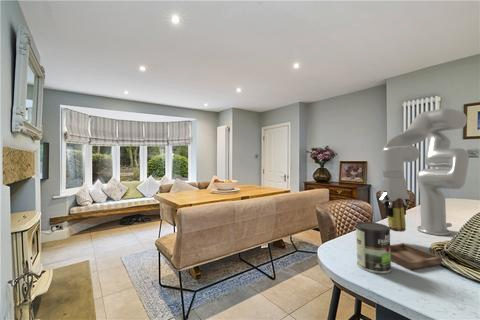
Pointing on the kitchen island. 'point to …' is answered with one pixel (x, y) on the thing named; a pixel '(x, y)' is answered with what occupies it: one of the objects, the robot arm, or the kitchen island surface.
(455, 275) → the kitchen island surface
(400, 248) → the tray
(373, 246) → the coffee can
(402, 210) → the sauce bottle
